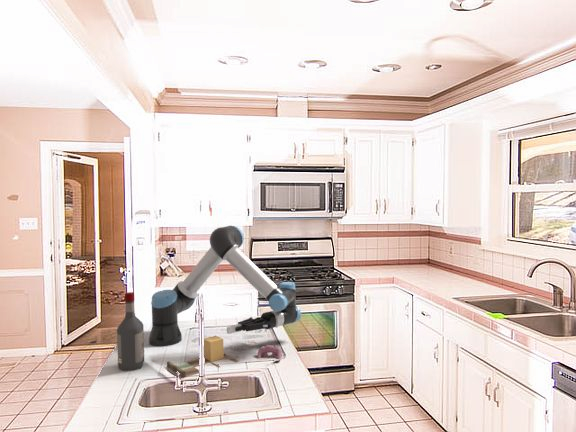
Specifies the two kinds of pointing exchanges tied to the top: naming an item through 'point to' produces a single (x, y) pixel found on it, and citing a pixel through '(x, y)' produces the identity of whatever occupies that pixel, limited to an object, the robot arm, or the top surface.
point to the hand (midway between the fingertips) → (227, 330)
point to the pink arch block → (269, 351)
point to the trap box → (191, 366)
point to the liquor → (130, 338)
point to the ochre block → (213, 348)
